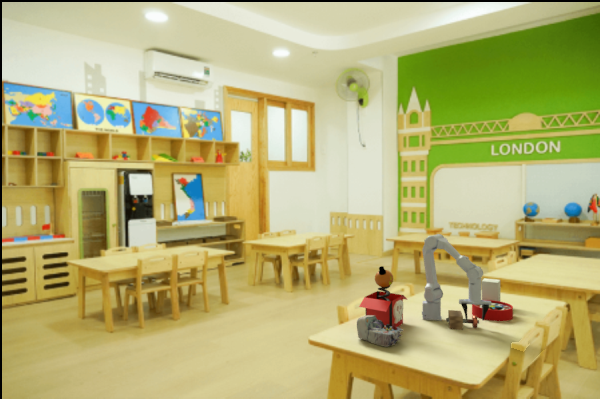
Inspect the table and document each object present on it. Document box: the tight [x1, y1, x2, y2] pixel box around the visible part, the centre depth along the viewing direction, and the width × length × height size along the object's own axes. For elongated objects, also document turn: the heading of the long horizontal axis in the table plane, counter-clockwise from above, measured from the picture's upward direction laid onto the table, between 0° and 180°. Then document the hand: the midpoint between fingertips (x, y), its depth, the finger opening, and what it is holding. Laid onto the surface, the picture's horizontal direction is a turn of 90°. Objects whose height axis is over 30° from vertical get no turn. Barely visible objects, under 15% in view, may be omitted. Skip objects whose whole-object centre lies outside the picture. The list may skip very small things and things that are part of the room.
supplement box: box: [481, 277, 501, 302], centre depth 250 cm, size 9×9×15 cm
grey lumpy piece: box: [356, 315, 404, 348], centre depth 196 cm, size 13×11×20 cm
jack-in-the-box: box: [358, 266, 408, 327], centre depth 218 cm, size 26×16×30 cm, turn 143°
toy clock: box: [471, 300, 514, 322], centre depth 232 cm, size 20×6×20 cm
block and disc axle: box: [445, 314, 480, 329], centre depth 214 cm, size 15×6×6 cm, turn 75°
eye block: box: [447, 309, 464, 331], centre depth 215 cm, size 6×10×6 cm, turn 165°
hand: (474, 319), depth 213 cm, fingers open, 7 cm apart
